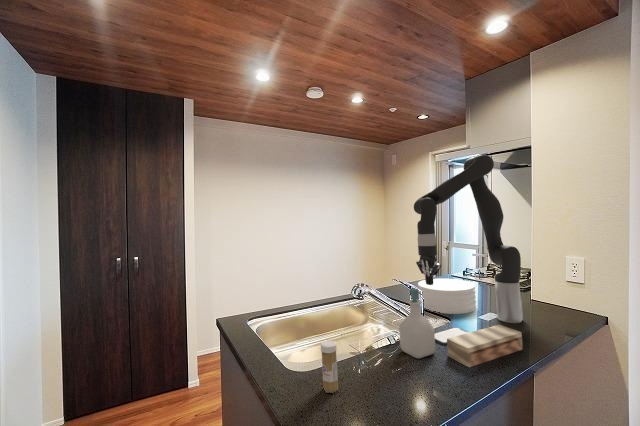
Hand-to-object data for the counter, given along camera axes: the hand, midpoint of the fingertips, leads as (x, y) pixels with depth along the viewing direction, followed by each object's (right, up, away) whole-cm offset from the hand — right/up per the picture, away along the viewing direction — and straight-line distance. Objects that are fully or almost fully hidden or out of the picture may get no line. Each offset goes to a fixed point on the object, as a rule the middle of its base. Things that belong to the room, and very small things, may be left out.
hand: (429, 284), depth 125 cm
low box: (+11, -18, -24) cm, 32 cm away
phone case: (+5, -19, -10) cm, 22 cm away
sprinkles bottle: (-44, -21, -41) cm, 63 cm away
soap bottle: (-12, -20, -21) cm, 31 cm away
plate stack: (+21, -19, +30) cm, 41 cm away
